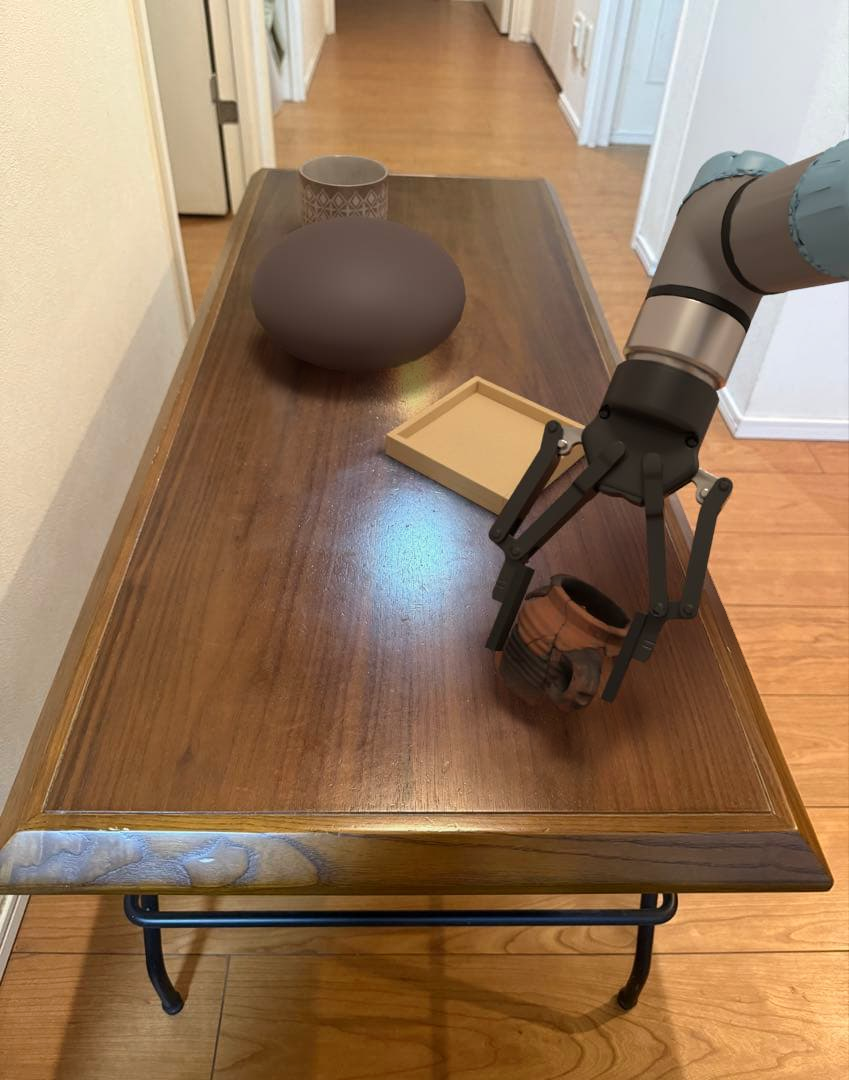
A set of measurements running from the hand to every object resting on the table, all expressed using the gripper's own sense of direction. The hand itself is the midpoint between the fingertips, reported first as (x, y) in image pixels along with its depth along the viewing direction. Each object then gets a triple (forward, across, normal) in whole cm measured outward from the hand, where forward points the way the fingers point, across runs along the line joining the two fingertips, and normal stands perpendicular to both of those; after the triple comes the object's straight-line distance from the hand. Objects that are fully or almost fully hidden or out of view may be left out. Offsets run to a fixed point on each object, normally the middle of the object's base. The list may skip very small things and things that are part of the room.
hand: (549, 673), depth 59 cm
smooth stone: (-24, +41, -32) cm, 57 cm away
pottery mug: (0, 0, -5) cm, 5 cm away
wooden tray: (-17, +18, -24) cm, 35 cm away
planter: (-42, +59, -50) cm, 88 cm away
